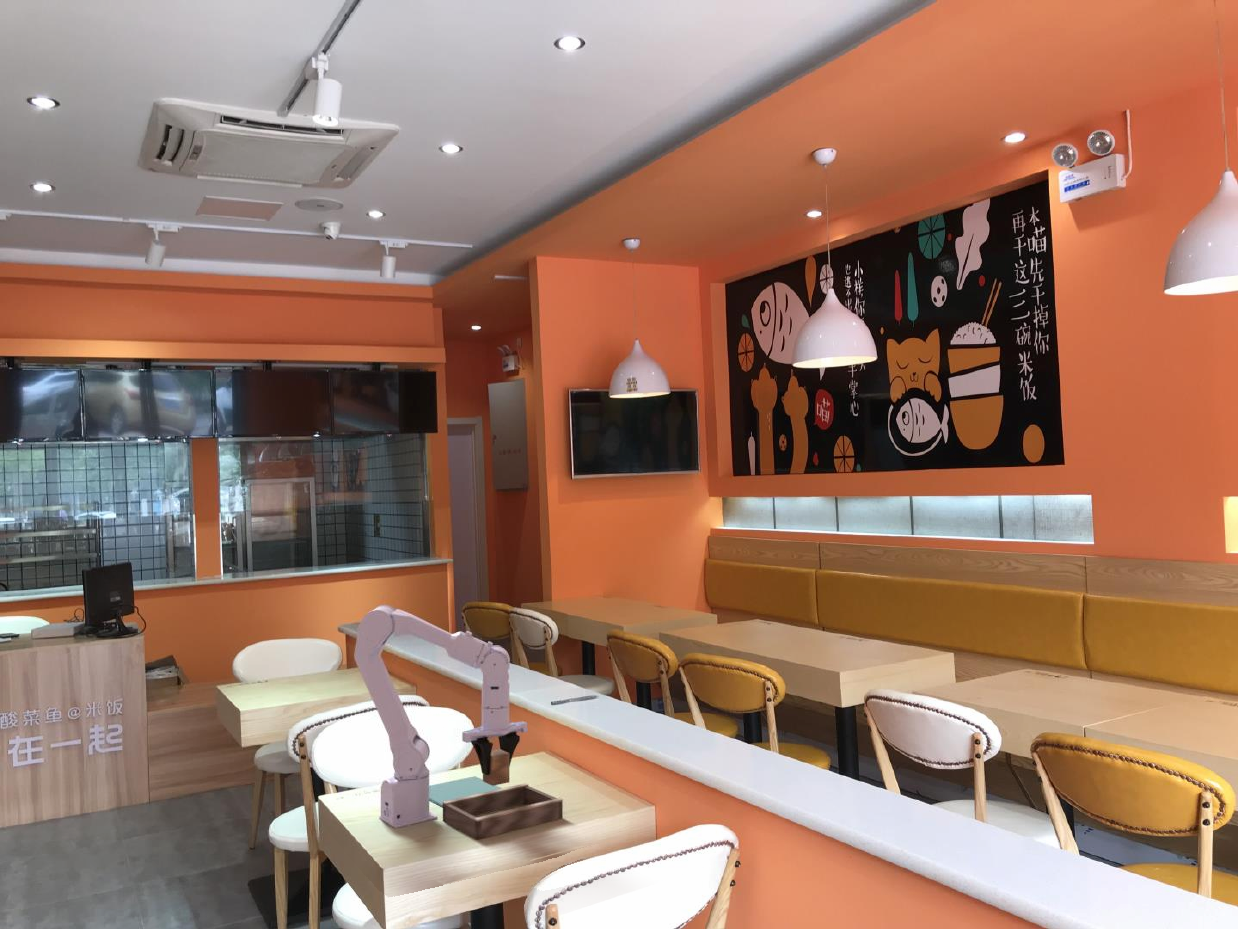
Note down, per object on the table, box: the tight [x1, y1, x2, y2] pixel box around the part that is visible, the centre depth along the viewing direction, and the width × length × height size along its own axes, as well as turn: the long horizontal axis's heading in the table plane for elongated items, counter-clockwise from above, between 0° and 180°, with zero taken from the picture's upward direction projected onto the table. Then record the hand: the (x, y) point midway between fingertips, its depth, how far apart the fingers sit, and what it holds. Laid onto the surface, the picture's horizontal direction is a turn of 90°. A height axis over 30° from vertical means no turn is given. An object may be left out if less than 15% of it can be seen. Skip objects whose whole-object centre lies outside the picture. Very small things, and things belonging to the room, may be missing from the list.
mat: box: [429, 775, 504, 808], centre depth 216 cm, size 16×16×1 cm
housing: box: [442, 783, 564, 840], centre depth 198 cm, size 20×14×4 cm
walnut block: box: [482, 748, 510, 786], centre depth 201 cm, size 4×4×6 cm
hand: (495, 772), depth 201 cm, fingers closed on walnut block, 4 cm apart
